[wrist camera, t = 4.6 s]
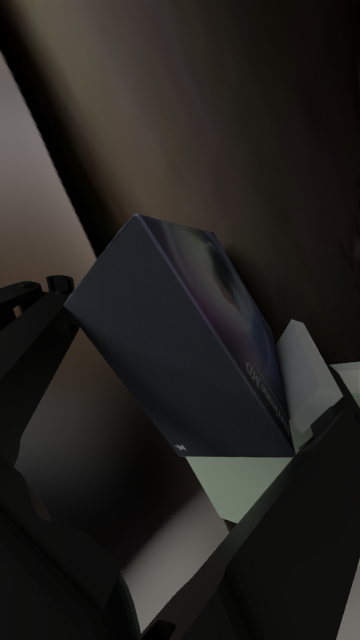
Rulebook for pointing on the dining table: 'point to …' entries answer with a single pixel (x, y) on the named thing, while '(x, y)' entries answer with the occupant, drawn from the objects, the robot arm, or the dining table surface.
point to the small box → (186, 340)
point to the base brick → (242, 477)
